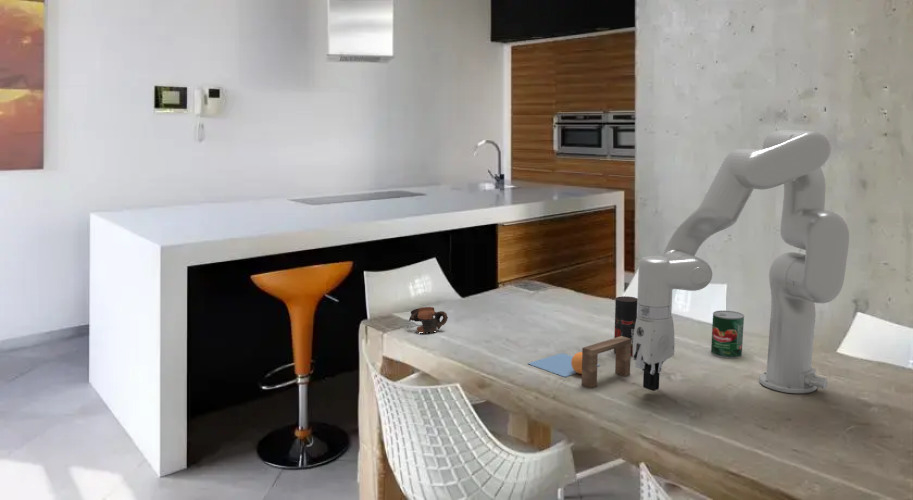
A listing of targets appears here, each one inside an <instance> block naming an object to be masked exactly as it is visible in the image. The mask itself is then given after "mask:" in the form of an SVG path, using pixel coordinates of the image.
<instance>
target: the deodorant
mask: <svg viewBox="0 0 913 500" xmlns="http://www.w3.org/2000/svg"><path fill="white" fill-rule="evenodd" d="M637 299H638V297H633V296H617V297H615V305H614V308H615V309H614V310H615V311H614V335H613V337H614V338H617V337H620V336H623V337H627V338H630V339H631V357H633V337H634V329H635V324H636V319H637ZM613 354H614V355H616V348H615V349H613Z"/></svg>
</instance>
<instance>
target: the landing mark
mask: <svg viewBox="0 0 913 500" xmlns="http://www.w3.org/2000/svg"><path fill="white" fill-rule="evenodd" d="M573 356H574V355H573ZM573 356H572V355H569V354H566V353H563V352H561V353H557V354H555V355H552V356H548V357H545V358H541V359H537V360H534V361H531V362H528V363H527V365H529V364H530V365H529V366H532V367H534V368H535V367H536V368H537V367H538V369H540V368H541V369H540V370H543V371H547V372H550V373H551V372H552V373H551V374H555V375H557V374H558V376H560V377H563V378H567V377H570V376H573V374H574V375H576V374H578V373H577V372H575V371H574V369H573V368H572V365H571V361H572V358H573ZM599 367H600V364H597V368H599Z"/></svg>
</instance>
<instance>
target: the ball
mask: <svg viewBox="0 0 913 500" xmlns="http://www.w3.org/2000/svg"><path fill="white" fill-rule="evenodd" d="M571 365H572V368H573V369H574V371H575V372H577V374H579V375H582V351H580V352H579V351H578V352H576V353H575V354H574V355H573V358H572V361H571Z"/></svg>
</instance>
